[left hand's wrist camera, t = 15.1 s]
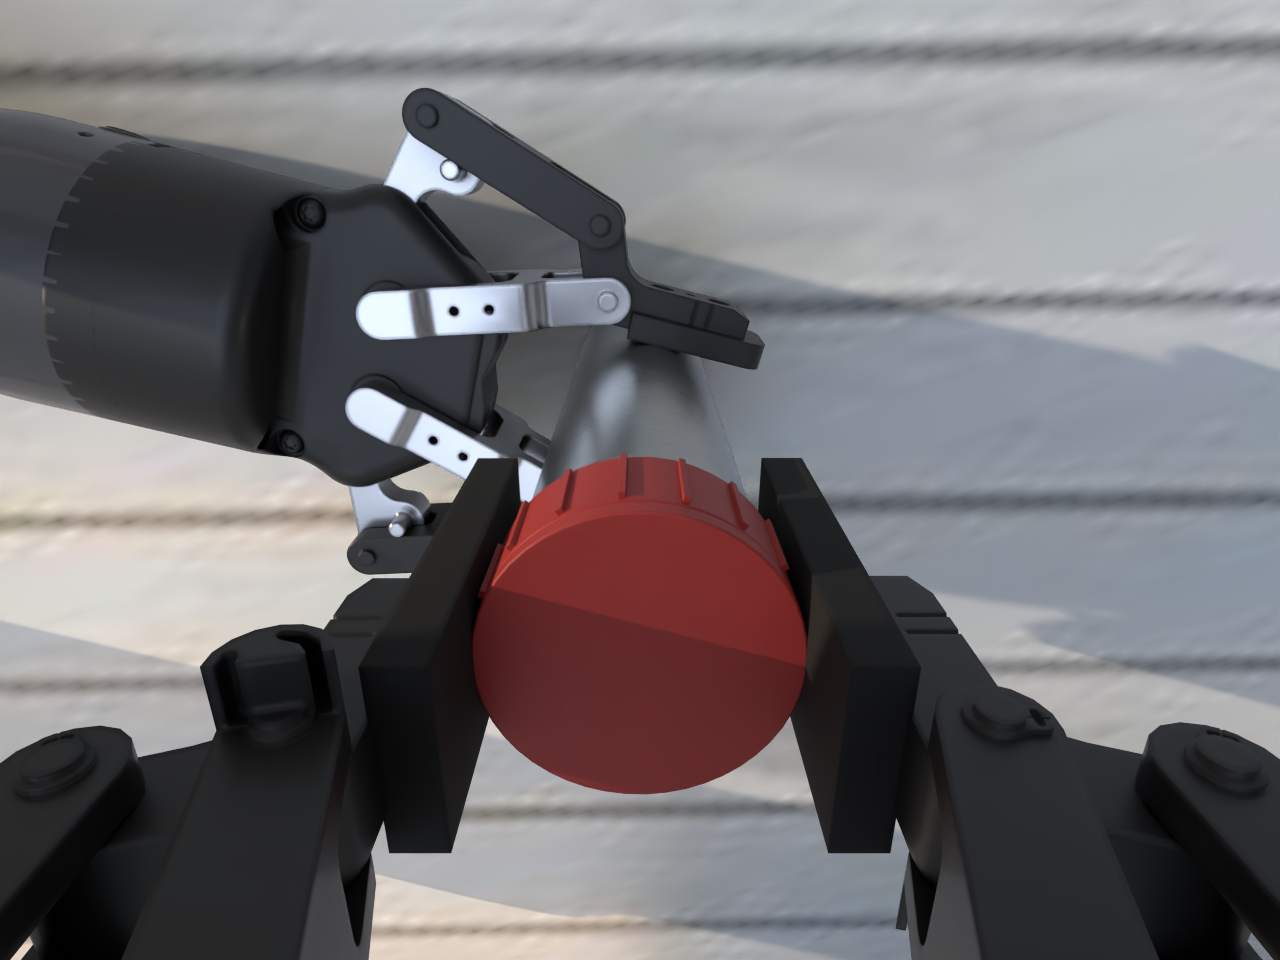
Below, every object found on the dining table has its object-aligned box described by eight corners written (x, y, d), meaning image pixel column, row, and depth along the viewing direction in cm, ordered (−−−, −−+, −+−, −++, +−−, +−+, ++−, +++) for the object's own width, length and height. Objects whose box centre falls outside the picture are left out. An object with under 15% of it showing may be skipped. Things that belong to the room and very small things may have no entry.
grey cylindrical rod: (715, 385, 28) (824, 690, 11) (613, 431, 29) (577, 782, 12) (668, 280, 27) (715, 454, 10) (562, 331, 27) (441, 574, 11)
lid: (690, 391, 11) (701, 437, 9) (837, 628, 13) (873, 709, 11) (433, 546, 12) (393, 617, 10) (598, 748, 14) (592, 844, 12)
